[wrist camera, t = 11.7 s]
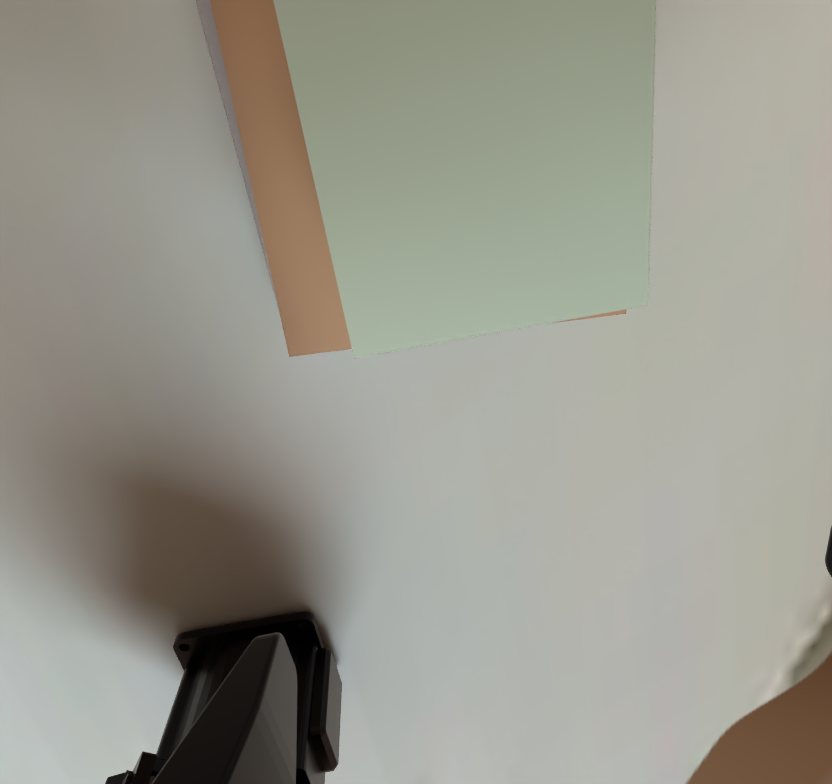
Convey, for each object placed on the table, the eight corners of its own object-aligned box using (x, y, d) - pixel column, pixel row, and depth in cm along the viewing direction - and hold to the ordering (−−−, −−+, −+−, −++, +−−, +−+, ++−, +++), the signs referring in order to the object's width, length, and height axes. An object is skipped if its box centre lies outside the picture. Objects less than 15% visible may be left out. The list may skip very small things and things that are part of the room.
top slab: (301, 321, 17) (289, 356, 14) (228, -35, 13) (192, -80, 10) (585, 285, 17) (625, 313, 15) (595, -75, 13) (654, -128, 11)
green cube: (357, 284, 14) (353, 358, 9) (309, 53, 11) (273, -1, 7) (555, 250, 14) (648, 305, 9) (543, 12, 12) (658, -68, 7)
